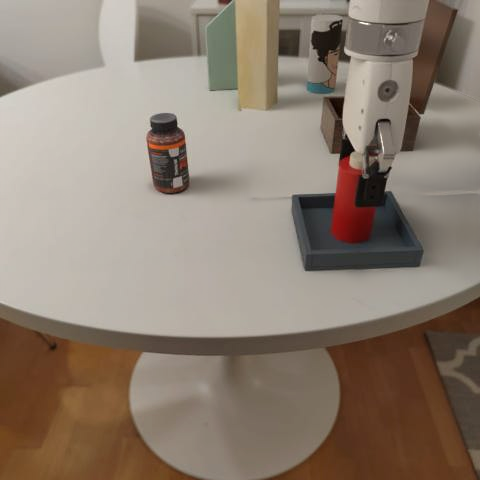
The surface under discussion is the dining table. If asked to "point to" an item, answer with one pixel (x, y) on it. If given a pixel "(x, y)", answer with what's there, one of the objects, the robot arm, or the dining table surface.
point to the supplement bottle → (167, 154)
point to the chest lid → (430, 51)
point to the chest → (334, 127)
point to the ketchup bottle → (351, 203)
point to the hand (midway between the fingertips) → (358, 185)
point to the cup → (324, 53)
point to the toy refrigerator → (257, 53)
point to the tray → (353, 254)
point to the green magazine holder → (222, 50)
